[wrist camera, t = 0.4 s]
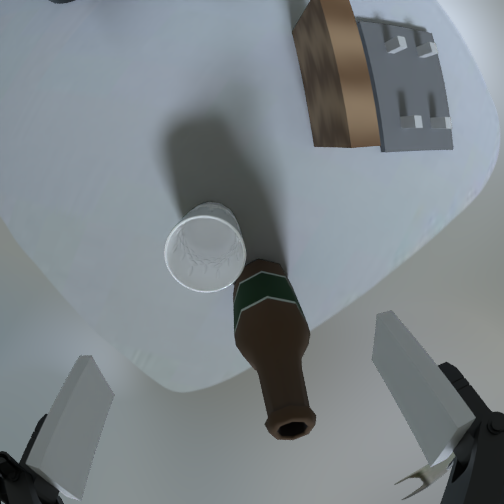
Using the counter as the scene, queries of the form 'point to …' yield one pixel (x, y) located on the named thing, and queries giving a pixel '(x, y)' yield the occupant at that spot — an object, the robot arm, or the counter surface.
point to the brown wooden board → (335, 76)
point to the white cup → (206, 248)
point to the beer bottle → (274, 345)
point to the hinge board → (406, 88)
